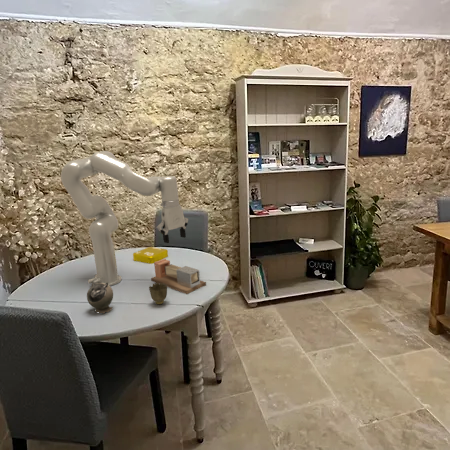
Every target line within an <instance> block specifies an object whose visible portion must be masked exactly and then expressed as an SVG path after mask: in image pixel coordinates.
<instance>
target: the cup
mask: <svg viewBox="0 0 450 450" xmlns="http://www.w3.org/2000/svg"><path fill="white" fill-rule="evenodd" d="M148 289H149V294H150V297H151V298H150V299H152V300H153V302H154V303H155V305H157V306H161V305H163V304H164V303H165V300H166V299H167V295H168V287H167V284H165V283H162V284H161V283H160V284H158V283H152V286H151V285H149V287H148Z"/></svg>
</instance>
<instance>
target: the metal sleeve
mask: <svg viewBox="0 0 450 450" xmlns="http://www.w3.org/2000/svg"><path fill="white" fill-rule="evenodd" d="M176 271H177V282H178V284H180V285H183V286H185V287H188V288H193V287H195V286H197V285H200V280H201V276H200V269H198V268H193V267H191V266H187V265H185V266H182V268H179V269H177V270H176ZM196 272H197V277H198V281H195V282H193V283H191V275H192V274H194V273H196Z"/></svg>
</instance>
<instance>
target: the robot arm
mask: <svg viewBox="0 0 450 450" xmlns="http://www.w3.org/2000/svg"><path fill="white" fill-rule="evenodd" d="M60 171H61V173H60V181H61V183H62V186H63V188H65V190H66V192H67V193H68V195H70V198H71V199H72V201H73V203H74V205H75V206H76V209H78V211H79V213H80V215H81V216H82V217H83V218H85V219H87V220H89V219H94V218H95V220H93V221H92V222H91V223H90V225H89V227H88V235H89V237H90V240H91V243H92V248H93V249H92V250H93V255H94V256H93V257H94V263H95V271H96V274H95V275H94V277H93V278H89V279H87V282H88V284H90V285H91V284H92V282H93V283H95V284H97V283H105V284H106V283H108V285H109V286H110V287H111V286H115V285H118V284H119V283H120V282H121V281H122V278H123V277H122V276H121V275H119V274H118V268H117V267H118V265H117V259H116V251H115V244H114V242H113V238H112V236H111V235H112V234H114V233H115V232H116V231H117V230H118V229H119V220H118V218H117V216H116V214H115V213H114V211H113V209H112V208H111V206H110V204H109V203H108V201H107V199H105V198H104V197H103V196H101V195H98V194H96V195H93V194H92V193H91V191H90V189H89V188H88V186H87V185H86V184H85V183H84V182H83V181H82V179H84V178H88V177H91V176H95V175H97V174H100V173H101V174H104V175H106V176H107V177H111V178H113V179H114V180H116V181H118V182H120V183H121V184H122V185H124V186H125V187H126V188H128V189H129V190H131V191H133V192H135V193H138V194H140V195H141V196H146V197H151V196H153V195H155V194H157V193H160V196H161V203H160V207H161V215H160V216H161V222H160V223H159V224H158V225H157V226H156V229H157V230H158V232H159V233H160V234H161V235H162V241H163V242H164V243H165V244H170V237H169V234H168V233H169V231H172V230H175V229H179V234H180V237H181V238H184V239H186V238H187V237H186V229H187V226H188V222H189V218H187V217H185V216H184V211H183V208H182V205H180V201H179V200H180V198H179V189H178V182H177V181H178V180H177V177H176V176H174V175H167V176H154V175H153V176H150V177H147V178H146V177H144V176H141V175H139V174H137V173H136V172H134V171H133V170H132V169H131V167H130V165H129V164H128V163H127V162H124V161H122V160H120V159H118V158H117V157H116V156H115V155H114V153H112V151H108V150H102V151H96V152H94V153H93V154H92V155H90V156H88V157H85V158H82V159H75V160H71V161H69V162H67V163H66V164H65V165H64V166H63V167H62V169H61V170H60Z"/></svg>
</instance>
